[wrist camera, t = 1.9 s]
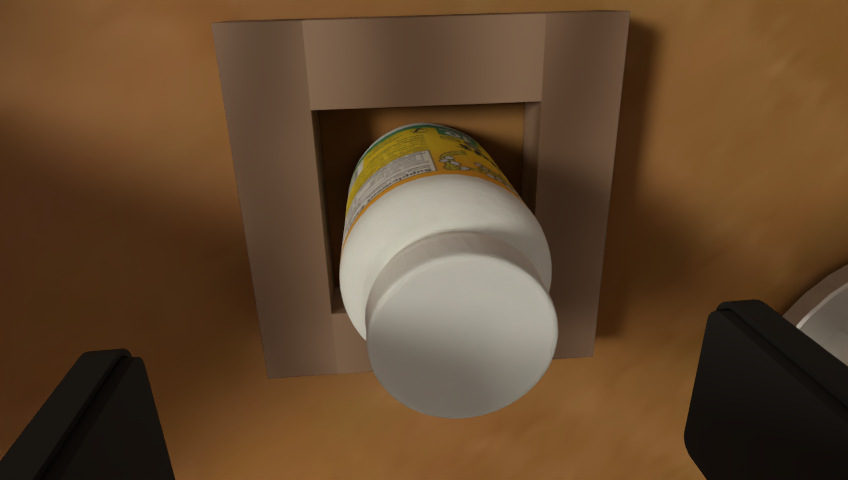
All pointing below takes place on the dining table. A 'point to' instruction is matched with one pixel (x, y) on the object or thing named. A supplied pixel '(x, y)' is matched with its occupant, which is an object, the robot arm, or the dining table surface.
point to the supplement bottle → (446, 274)
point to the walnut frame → (400, 87)
